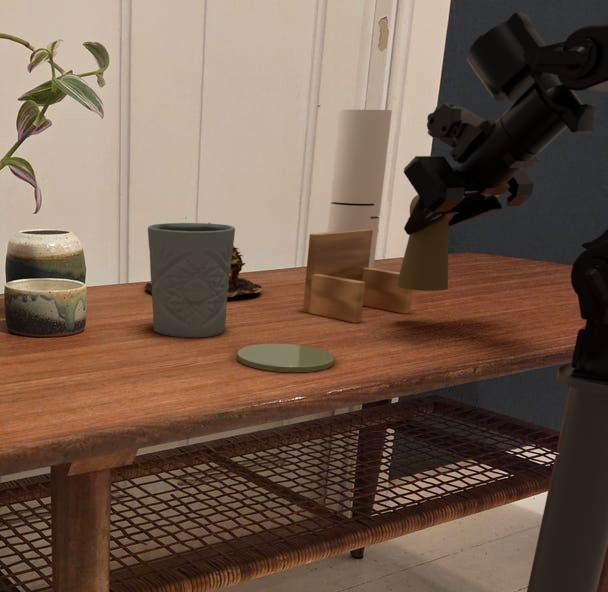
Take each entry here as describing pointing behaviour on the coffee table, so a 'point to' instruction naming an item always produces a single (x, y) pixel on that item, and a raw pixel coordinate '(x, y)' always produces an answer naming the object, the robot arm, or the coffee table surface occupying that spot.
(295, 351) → the coaster
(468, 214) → the robot arm
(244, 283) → the cactus
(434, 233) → the olive tapered shaker
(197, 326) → the grey embossed cup
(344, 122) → the cylindrical container
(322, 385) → the coffee table surface
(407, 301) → the rack
